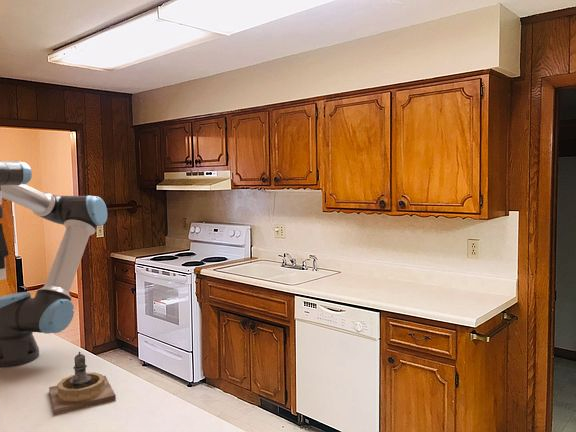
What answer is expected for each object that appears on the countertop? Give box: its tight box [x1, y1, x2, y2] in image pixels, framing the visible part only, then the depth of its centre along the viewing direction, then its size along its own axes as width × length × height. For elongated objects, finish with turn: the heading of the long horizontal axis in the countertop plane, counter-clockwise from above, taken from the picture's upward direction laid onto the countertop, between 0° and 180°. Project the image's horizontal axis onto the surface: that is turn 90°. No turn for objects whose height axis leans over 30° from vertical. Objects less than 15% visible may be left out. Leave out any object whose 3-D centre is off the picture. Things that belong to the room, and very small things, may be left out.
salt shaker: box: [70, 351, 92, 389], centre depth 141 cm, size 6×6×12 cm
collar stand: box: [48, 372, 117, 416], centre depth 141 cm, size 16×16×4 cm
